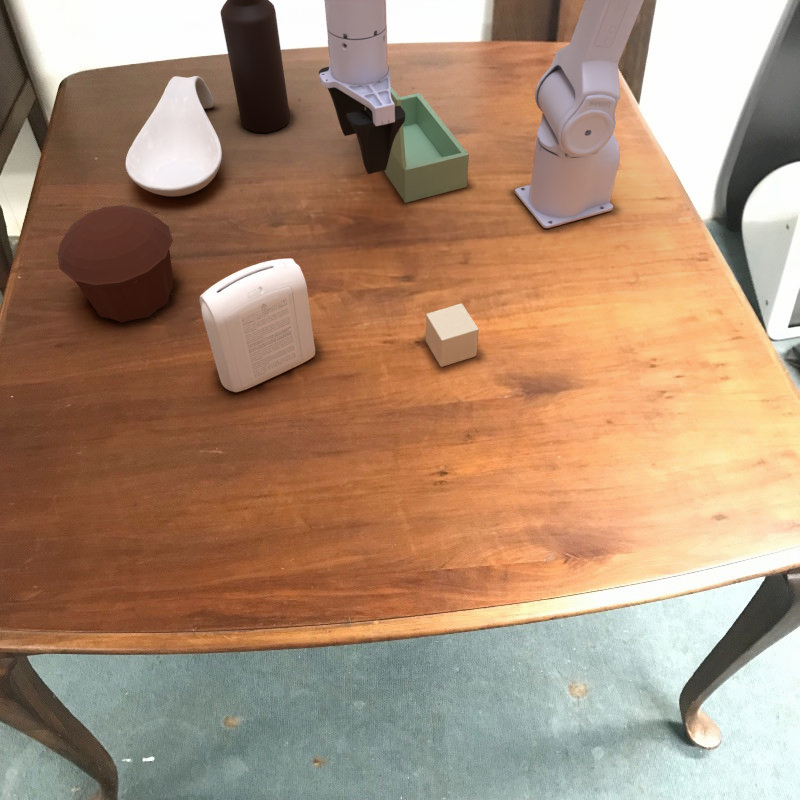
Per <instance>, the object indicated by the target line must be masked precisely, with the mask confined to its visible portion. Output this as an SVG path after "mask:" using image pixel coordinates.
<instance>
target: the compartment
mask: <svg viewBox="0 0 800 800" xmlns="http://www.w3.org/2000/svg"><path fill="white" fill-rule="evenodd" d="M399 97H400V98H401V107H402V109H403V110H404V112H405V122H404V123H403V132H404V144H405V156H406V168H402V167H401V165H400V164H399V162H398V161H397V160H396V158H395V157H394V155H393V154H392V152H390V156H389V160H388V164H387V168H386V170H384V171H383V172H384V174H385V175H386V176H387V178H388V180H389V181H390V182H391V184H392V186H393V187H394V188H395V190H396V192H397V193H398V195H399V196H400V197H401V199H402V201H403V202H404V203H405V204H406V203H410V202H415V201H418V200H421V199H425V198H430V197H434V196H438V195H441V194H446V193H449V192H452V191H453V192H454V191H456V190H460V189H464V188H467V186H468V178H469V177H468V176H469V175H468V174H469V160H470V159H469V158H470V154H469V152H468V151H467V150H466V148H464V146H463V145H462V144H461V142H459V140H458V139H457V138H456V136H455V135H454V134H453V132H452V131H451V130H450V129H449V127H448V126H447V125H446V124H445V122H444V121H443V120H442V119H441V118H440V116H439V115H438V114H437V113H436V111H435V110H434V109H433V107H432V106H431V105H430V104H429V103H428V101H427V99H425V98H424V96H423V95H422V94H421V92H417V93H411V94H408V95H402V96H399Z"/></svg>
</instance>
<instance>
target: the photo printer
mask: <svg viewBox="0 0 800 800" xmlns="http://www.w3.org/2000/svg"><path fill="white" fill-rule="evenodd" d="M199 304H200V308H201V309H200V311H201V317H202V320H203V321H202V322H203V324H204V327H205V331H206V334H207V338H208V341H209V346H210V349H211V352H212V356H213V359H214V363H215V367H216V370H217V374H218V377H219V381H220V383H221V385H222V386H223V388H225V389H226V390H228V391H230V392H233V393H239V392H242V391H246V390H248V389H251V388H252V387H256V386H257V385H260V384H262V383H264V382H266V381H268V380H271V379H272V378H275V377H276V376H279V375H281V374H284V373H285V372H288V371H290V370H291V369H293V368H297V367H298V366H300V365H302V364H304V363H306V362H308V361H309V360H311V359H312V358H314V357H315V355H316V346H315V339H314V332H313V324H312V315H311V307H310V300H309V292H308V285H307V281H306V279H305V275H304V273H303V271H302V268H301V266H300V265H299V264H297V263H296V261H295V260H294V259H293V258H290V257H289V258H277V259H272V260H267V261H262V262H259V263H256V264H253V265H250V266H247V267H245V268H243V269H240V270H237V271H236V272H234V273H232V274H230V275H228V276H226V277H224V278H222V279H220V280H219V281H218V282H216V283H214V284H213V285H212V286H210V287H209V288H207V289H206V290H205V291H204V292H203V293H202V294H201V295H199Z"/></svg>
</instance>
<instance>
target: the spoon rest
mask: <svg viewBox="0 0 800 800" xmlns="http://www.w3.org/2000/svg"><path fill="white" fill-rule="evenodd" d="M213 107H215V101H214V97H213V95H212V93H211V90H210V88H209V86H208V85H207V84H206V82H205V81H204V79H203V78H202V77H201V76H199V75H194V76H190V77H183V76H178V75H175V76H173V77H171V79H169V81H168V83H167V84H166V87H165V89H164V91H163V93H162V95H161V97H160V99H159V101H158V103H157V104H156V106H155V108H154V109H153V111H152V112H151V114H150V116H149V117H148V118H147V120H146V121H145V123H144V125H143V126H142V127H141V129H140V131H139V132H138V133H137V135H136V137H135V138H134V140H133V142H132V144H131V145H130V147H129V149H128V152H127V154H126V157H125V170H126V173H127V175H128V177H129V178H130V179H131V180H132V181H133V182H134V183H135V184H136V185H138V186H139V187H140V188H142V189H143V190H146V191H147V192H150V193H152V194H155V195H158V196H159V195H160V196H165V197H182V196H187V195H191V194H194V193H196V192H198V191H200V190H202V189H203V188H205V187H207V186H208V185H209V184H210V183H211V182H212V181H213V180H214V178H215V177H216V176H217V173H218V172H219V169H220V167H221V163H222V160H223V150H222V145H221V142H220V138H219V137H218V135H217V134H218V133H217V132H216V130H215V128H214V126H213V124H212V122H211V121H210V118H209V116H208V114H207V113H206V111H205V110H206V109H211V108H213Z"/></svg>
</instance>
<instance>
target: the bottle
mask: <svg viewBox="0 0 800 800" xmlns="http://www.w3.org/2000/svg"><path fill="white" fill-rule="evenodd" d="M219 13H220V18H221V24H222V30H223V35H224V40H225V44H226V50H227V55H228V61H229V66H230V71H231V76H232V82H233V86H234V93H235V99H236V103H237V109H238V112H239V113H238V114H239V118H240V123H241V125H242V126H243V127H244V128H245V129H247V130H249V131H251V132H254V133H261V134H262V133H263V134H265V133H272V132H275V131H278V130H280V129H282V128H283V127H285V126H286V125H287V124H288V123H289V120H290V117H291V115H290V109H289V100H288V93H287V85H286V79H285V78H286V77H285V71H284V63H283V56H282V50H281V42H280V35H279V34H280V33H279V28H278V27H279V26H278V20H277V11H276V8H275V5H274V3H273V2H272V1H270V0H226V1H225V3H223V6H222V7H221V9H220V12H219Z"/></svg>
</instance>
